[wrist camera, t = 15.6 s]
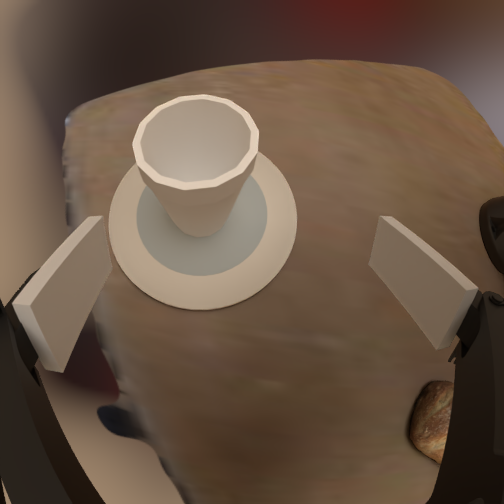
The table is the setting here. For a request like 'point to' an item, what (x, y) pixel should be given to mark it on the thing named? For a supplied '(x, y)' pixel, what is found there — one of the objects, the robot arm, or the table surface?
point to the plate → (204, 242)
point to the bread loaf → (432, 419)
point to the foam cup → (197, 159)
